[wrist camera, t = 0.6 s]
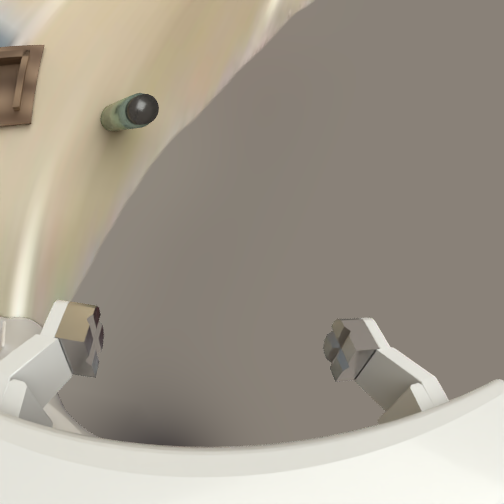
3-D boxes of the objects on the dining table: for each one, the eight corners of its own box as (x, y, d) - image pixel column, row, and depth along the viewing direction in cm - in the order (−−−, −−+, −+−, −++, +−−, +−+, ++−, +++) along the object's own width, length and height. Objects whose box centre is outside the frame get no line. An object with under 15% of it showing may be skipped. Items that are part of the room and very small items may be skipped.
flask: (107, 136, 49) (135, 133, 39) (96, 111, 46) (121, 100, 35) (130, 123, 52) (165, 117, 41) (120, 99, 48) (153, 85, 37)
